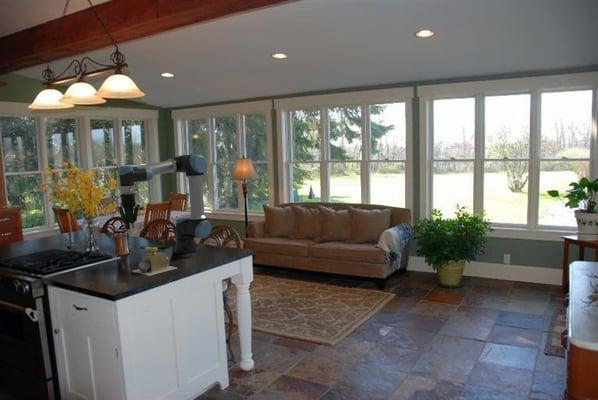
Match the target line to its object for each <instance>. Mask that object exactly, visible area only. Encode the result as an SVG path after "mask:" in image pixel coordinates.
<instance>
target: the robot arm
mask: <svg viewBox="0 0 598 400" xmlns="http://www.w3.org/2000/svg"><path fill="white" fill-rule="evenodd" d="M207 169H208V161H207V159H206V158H205V157H204V156H203V155H202V154H196V153H195V154H182V155H178V156H175V157H171V158H168V159H167V160H165V161H164V160H163V161H159V162H155V163H154V162H153V163H149V164H143V165H138V166H135V167H134V166H133V165H120V166H119V167H118V178H119V191H120V201H121V202H120V205H119V206H117V208H116V209H117V210H118V212H119V214H120V219H121V221H122V223H123V224H125V225H126V230H127V234H128V236H129V235H130V236H133V235H134V228H135V222H137V220H138V215H139V214H138V213H139V208H140V204H138V203H137V201H136V194H135V183H138V182H139V183H140V182H149V181H151V180H152V179H153V177H154V176H158V175H163V174H169V173H171V174H175V173H185V177H186V178H188V190H189V191H188V193H189V205H190V207H189V208H190V209H189V210H190V216H187V217H186V216H185V217H181V218H176V219H175V225H174V226H175V235H176V243H175V246H174V247H175V248H174V253H175V254H179V255H185V254H192V253H193V254H194V253H196V252H198V251H199V247H198V245H197V242H196V240H195V239H205V238H207V237H208V236H209V235H210V234H211V231H212V224H211V222H210V221H209V220H208V217H207V215H206V214H205V205H204V188H203V186H204V185H203V177H204V176H205V172H206V171H207Z"/></svg>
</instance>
